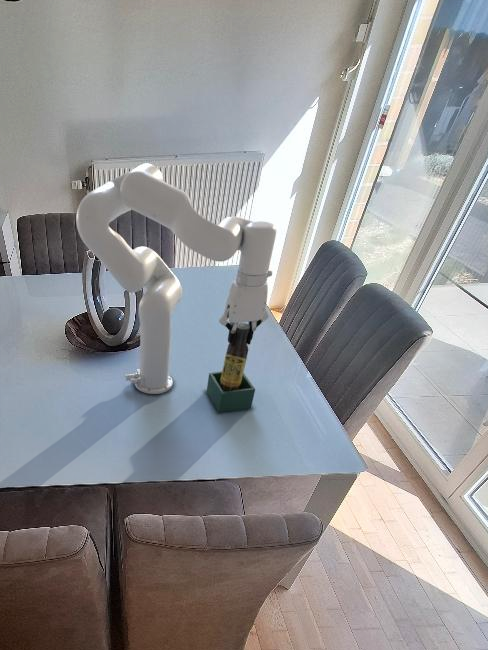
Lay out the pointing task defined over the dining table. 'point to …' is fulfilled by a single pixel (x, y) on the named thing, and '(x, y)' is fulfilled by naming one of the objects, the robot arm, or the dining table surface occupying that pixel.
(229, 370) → the sauce bottle
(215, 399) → the dark green storage bin
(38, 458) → the dining table surface
